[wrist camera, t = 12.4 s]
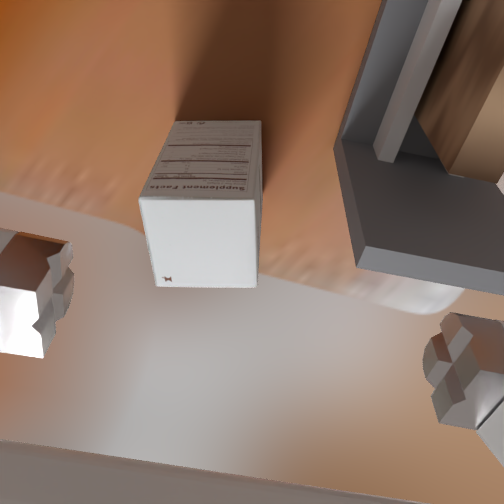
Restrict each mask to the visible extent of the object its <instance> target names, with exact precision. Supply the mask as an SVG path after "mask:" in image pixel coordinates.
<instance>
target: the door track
mask: <svg viewBox="0 0 504 504" xmlns="http://www.w3.org/2000/svg"><path fill="white" fill-rule="evenodd" d="M461 2H462V0H382V2H381V6H380V9H379V12H378V15H377V18H376V21H375V24H374V27H373V30H372V33H371V36H370V39H369V42H368V45H367V48H366V51H365V54H364V57H363V60H362V63H361V66H360V69H359V72H358V75H357V78H356V81H355V84H354V87H353V90H352V93H351V96H350V99H349V102H348V105H347V108H346V111H345V115H344V118H343V121H342V124H341V127H340V130H339V133H338V136H337V139H336V142H335V145H334V148H333V150H334V155H335V160H336V166H337V171H338V176H339V181H340V186H341V191H342V197H343V202H344V207H345V212H346V217H347V222H348V227H349V233H350V238H351V243H352V248H353V253H354V258H355V264H356V268H361V269H366V270H371V271H377V272H382V273H387V274H393V275H398V276H403V277H409V278H414V279H419V280H424V281H430V282H435V283H440V284H446V285H451V286H456V287H462V288H467V289H472V290H478V291H483V292H488V293H494V294H499V295H504V195H503V194H502V192H501V191H500V189H499V188H498V187H497V185H496V184H495V183H492V182H487V181H482V180H477V179H472V178H468V177H463V176H458V175H453V174H448V172H447V170H446V168H445V167H444V165H443V163H442V162H441V160H440V158H439V156H438V155H437V153H436V151H435V149H434V148H433V146H432V144H431V143H430V141H429V139H428V137H427V136H426V134H425V132H424V130H423V129H422V127H421V125H420V123H419V122H418V120H417V118H416V117H415V115H414V113H415V110H416V108H417V106H418V103H419V101H420V99H421V96H422V94H423V91H424V89H425V87H426V84H427V82H428V80H429V77H430V75H431V73H432V70H433V68H434V66H435V63H436V61H437V58H438V56H439V54H440V51H441V49H442V47H443V44H444V42H445V40H446V37H447V35H448V33H449V30H450V28H451V25H452V23H453V21H454V18H455V16H456V14H457V11H458V9H459V7H460V4H461Z"/></svg>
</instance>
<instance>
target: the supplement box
mask: <svg viewBox="0 0 504 504" xmlns="http://www.w3.org/2000/svg"><path fill="white" fill-rule="evenodd" d="M262 201H263V193H262V143H261V121H175V122H174V124H173V126H172V128H171V130H170V132H169V135H168V137H167V139H166V141H165V143H164V145H163V147H162V150H161V152H160V154H159V156H158V158H157V160H156V162H155V164H154V166H153V168H152V171H151V173H150V175H149V177H148V179H147V181H146V183H145V185H144V188H143V190H142V192H141V194H140V196H139V205H140V210H141V215H142V219H143V224H144V229H145V234H146V239H147V246H148V250H149V254H150V259H151V263H152V268H153V273H154V278H155V284H156V286H166V287H234V288H249V287H257V283H258V268H259V250H260V233H261V218H262Z"/></svg>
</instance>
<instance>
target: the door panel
mask: <svg viewBox="0 0 504 504" xmlns="http://www.w3.org/2000/svg"><path fill="white" fill-rule="evenodd" d="M414 115H415V117H416V118H417V120H418V122H419V123H420V125H421V127H422V129H423V130H424V132H425V134H426V136H427V137H428V139H429V141H430V143H431V144H432V146H433V148H434V149H435V151H436V153H437V155H438V156H439V158H440V160H441V162H442V163H443V165H444V167H445V168H446V170H447V172H448V174H453V175H458V176H463V177H468V178H472V179H477V180H482V181H487V182H492V183H496V184H497V183H498V181H499V179H500V177H501V176H502V174H503V172H504V0H462V2H461V4H460V7H459V9H458V11H457V14H456V16H455V18H454V21H453V23H452V25H451V28H450V30H449V33H448V35H447V37H446V40H445V42H444V44H443V47H442V49H441V51H440V54H439V56H438V58H437V61H436V63H435V66H434V68H433V70H432V73H431V75H430V77H429V80H428V82H427V84H426V87H425V89H424V91H423V94H422V96H421V99H420V101H419V103H418V106H417V108H416V110H415V113H414Z"/></svg>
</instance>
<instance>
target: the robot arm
mask: <svg viewBox="0 0 504 504" xmlns="http://www.w3.org/2000/svg"><path fill="white" fill-rule="evenodd" d="M72 259H73V250H72V244H71V243H70V242H68V241H63V240H59V239H54V238H49V237H44V236H39V235H34V234H29V233H25V232H17V231H13V230H8V229H3V228H0V352H5V353H13V354H19V355H26V356H34V357H42V358H43V357H44V355H45V353H46V351H47V349H48V347H49V345H50V343H51V341H52V339H53V338H54V336H55V334H56V326H55V322H56V321H57V320H59V319H61V318H63V317H64V316H65V314H66V312H67V309H68V308H69V305H70V302H71V298H72V295H73V288H74V273H73V272H72V271H71V270H70V268H69V267H68V266H69V264H70V262H71V260H72ZM440 327H441V331H442V332H441V333H440V334H437V335H435V336H434V337H432V338H431V339H430V340H429V342H428V344H427V345H426V348H425V350H424V356H423V370H424V374H425V378H426V380H427V381H428V382H429V383H430V384H431V385H432V386H433V387H434V388H435V390H434V391H433V393H432V395H431V398H432V402H433V405H434V408H435V412H436V415H437V418H438V422H439V423H442V424H446V425H452V426H457V427H462V428H468V429H473V430H477V431H476V433H477V434H478V435H479V436H480V438H481V439H482V440H483V442H484V443H485V444H486V445H487V446H488V448H489V449H490V450H491V451H492V453H493V454H494V455H495V457H496V458H497V459H498V460H499V462H500V463H501V464H502V465H503V467H504V321H500V320H491V319H485V318H480V317H474V316H469V315H463V314H458V313H451V312H450V313H449V314H448V315H446V316H445V317H444V319H443V320H442V322H441V323H440ZM0 504H428V503H422V502H415V501H409V500H402V499H395V498H388V497H381V496H375V495H368V494H361V493H355V492H348V491H341V490H335V489H328V488H321V487H314V486H308V485H301V484H295V483H288V482H281V481H275V480H268V479H261V478H254V477H248V476H242V475H235V474H228V473H222V472H215V471H208V470H202V469H195V468H189V467H182V466H175V465H169V464H162V463H155V462H149V461H142V460H135V459H128V458H122V457H115V456H108V455H102V454H95V453H88V452H82V451H76V450H69V449H62V448H56V447H49V446H42V445H36V444H29V443H22V442H16V441H9V440H2V439H0Z"/></svg>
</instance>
